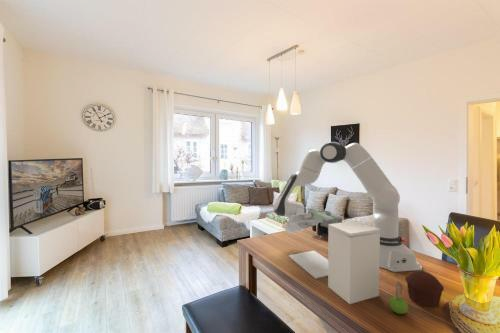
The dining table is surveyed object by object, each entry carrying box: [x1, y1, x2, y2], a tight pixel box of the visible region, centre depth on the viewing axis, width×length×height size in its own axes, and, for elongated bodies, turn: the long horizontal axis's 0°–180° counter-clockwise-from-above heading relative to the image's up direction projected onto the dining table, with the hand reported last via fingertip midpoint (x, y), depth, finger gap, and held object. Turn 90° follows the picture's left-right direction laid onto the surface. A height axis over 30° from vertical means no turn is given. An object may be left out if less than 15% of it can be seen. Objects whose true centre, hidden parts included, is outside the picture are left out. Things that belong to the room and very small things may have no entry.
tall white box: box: [327, 220, 380, 305], centre depth 92 cm, size 12×14×26 cm
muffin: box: [405, 270, 445, 309], centre depth 86 cm, size 12×11×10 cm
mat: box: [288, 250, 328, 280], centre depth 116 cm, size 24×16×1 cm, turn 20°
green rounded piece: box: [388, 281, 409, 315], centre depth 80 cm, size 5×6×12 cm
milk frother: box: [311, 210, 332, 237], centre depth 155 cm, size 14×16×15 cm
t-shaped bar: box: [307, 209, 343, 227], centre depth 110 cm, size 18×8×3 cm, turn 20°
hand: (315, 213), depth 114 cm, fingers closed on t-shaped bar, 3 cm apart
